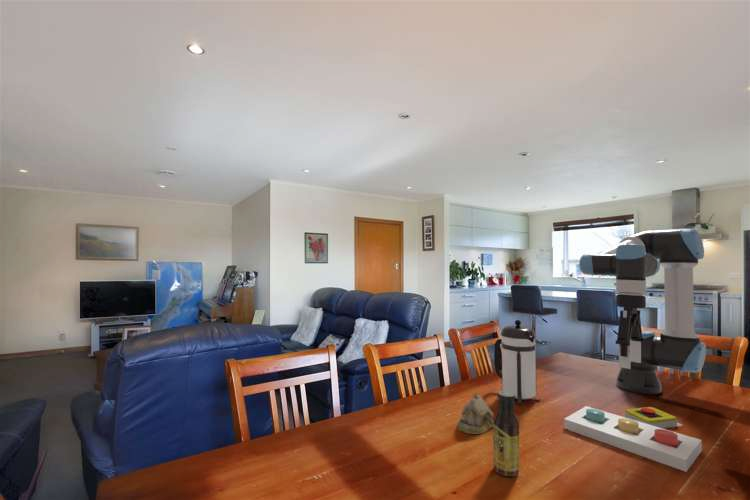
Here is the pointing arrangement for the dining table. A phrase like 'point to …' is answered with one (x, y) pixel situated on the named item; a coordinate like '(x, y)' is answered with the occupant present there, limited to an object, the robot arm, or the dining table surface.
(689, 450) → the button panel
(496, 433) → the sauce bottle
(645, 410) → the emergency button
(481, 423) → the ceramic model
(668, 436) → the red button
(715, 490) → the dining table surface
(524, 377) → the coffee press
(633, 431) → the ochre button
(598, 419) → the teal button
